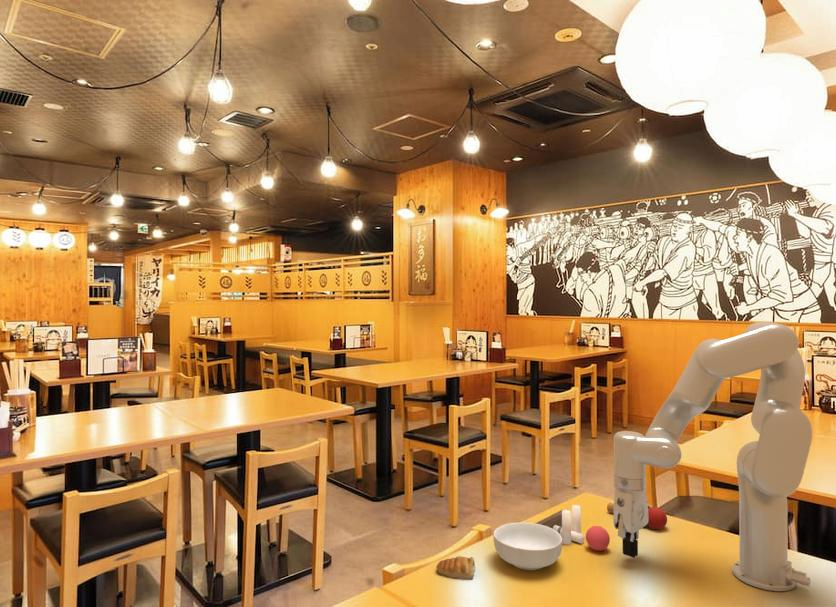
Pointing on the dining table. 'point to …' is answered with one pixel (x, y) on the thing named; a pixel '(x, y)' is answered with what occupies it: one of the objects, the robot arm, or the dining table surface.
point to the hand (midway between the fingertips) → (630, 554)
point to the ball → (597, 538)
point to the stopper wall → (552, 520)
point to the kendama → (650, 516)
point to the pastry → (457, 567)
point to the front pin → (574, 535)
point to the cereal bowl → (528, 545)
